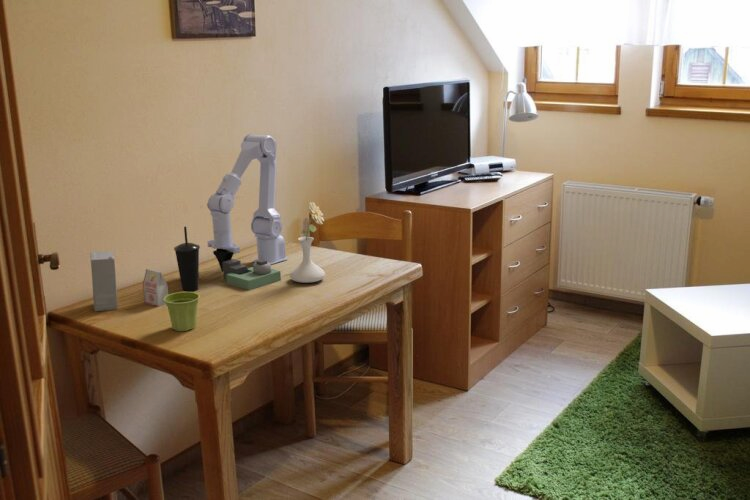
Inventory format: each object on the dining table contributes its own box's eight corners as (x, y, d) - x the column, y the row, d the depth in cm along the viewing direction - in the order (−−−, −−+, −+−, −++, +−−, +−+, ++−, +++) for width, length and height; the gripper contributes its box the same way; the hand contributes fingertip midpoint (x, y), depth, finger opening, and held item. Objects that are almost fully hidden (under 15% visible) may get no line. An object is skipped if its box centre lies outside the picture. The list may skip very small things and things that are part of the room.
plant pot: (205, 321, 213) (202, 291, 211) (198, 333, 204) (196, 302, 202) (170, 322, 213) (168, 292, 210) (163, 334, 204) (159, 303, 201)
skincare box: (93, 303, 229) (87, 252, 225) (118, 300, 232) (113, 249, 228) (94, 312, 222) (87, 259, 218) (120, 309, 224) (114, 256, 220)
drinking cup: (196, 293, 236) (191, 230, 231) (173, 292, 238) (167, 229, 233) (207, 286, 244) (202, 224, 238) (184, 285, 245) (178, 223, 240)
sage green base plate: (258, 274, 255) (257, 254, 254) (280, 280, 248) (279, 259, 246) (226, 283, 246) (225, 262, 244) (249, 290, 239) (247, 268, 237)
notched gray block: (234, 275, 255) (233, 258, 253) (248, 279, 250) (247, 262, 249) (223, 278, 251) (222, 261, 250) (237, 282, 247) (235, 265, 245)
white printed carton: (154, 299, 232) (151, 267, 230) (169, 303, 228) (165, 271, 226) (144, 302, 229) (141, 270, 227) (158, 306, 225) (155, 274, 223)
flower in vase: (309, 288, 240) (305, 208, 233) (282, 282, 246) (278, 204, 240) (336, 277, 250) (333, 201, 243) (309, 272, 256) (306, 197, 250)
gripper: (198, 229, 252) (201, 269, 256) (226, 236, 243) (229, 277, 246) (216, 225, 257) (219, 265, 261) (244, 232, 248) (246, 272, 251)
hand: (225, 271), depth 254 cm, fingers closed
